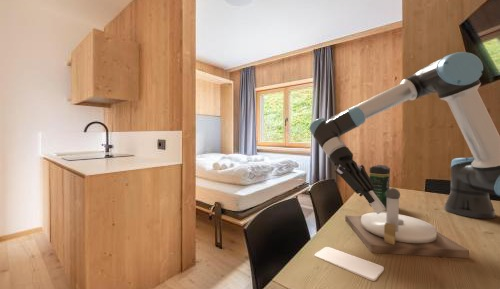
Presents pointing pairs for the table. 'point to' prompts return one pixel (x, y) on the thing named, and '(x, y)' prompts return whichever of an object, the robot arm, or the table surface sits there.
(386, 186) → the coffee jar
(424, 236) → the dial
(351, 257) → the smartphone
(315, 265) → the table surface
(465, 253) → the stand
